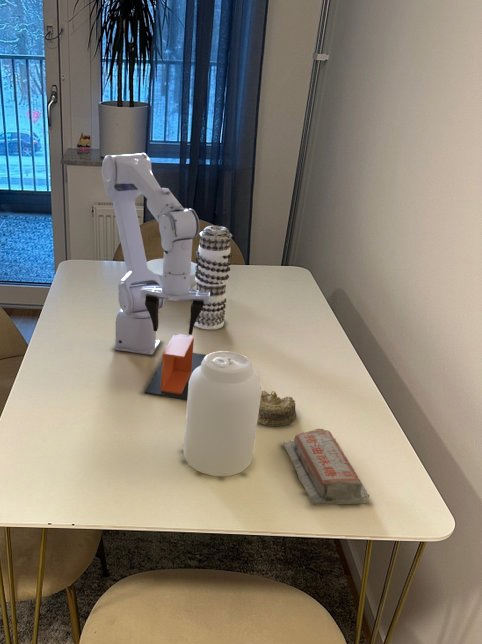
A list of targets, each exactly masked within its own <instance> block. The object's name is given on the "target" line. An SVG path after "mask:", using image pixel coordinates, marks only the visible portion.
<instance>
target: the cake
mask: <svg viewBox="0 0 482 644" xmlns="http://www.w3.org/2000/svg"><path fill="white" fill-rule="evenodd" d="M297 415H298V414H297V411H296V400H294V399H293V397H292V396H290V395H288V396H284V397H282V398H281V397H280V396H278V394H277V393H276V391H274V390H273V391H271V393H269V392H268V391H266V390H262V393H261V400H260V407H259V414H258V421H257V424H260V425H262V426H268V427H282V426H286V425H289V424H291V423H292V422H294V421H295V420H296V418H297Z"/></svg>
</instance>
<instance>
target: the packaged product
mask: <svg viewBox="0 0 482 644" xmlns="http://www.w3.org/2000/svg"><path fill="white" fill-rule="evenodd" d="M283 447H284V449H285V450H286V452H287V454H288V456H289V458H290V460H291V462H292V464H293V467H294V469H295V472H296V474H297V477H298V481H299V482H300V484H302V485H303V487H304V489H305V492H306V493H307V495H308V497H309V500H310V501H311V504H312V505H313V506H315V505H347V504H348V505H350V504H351V505H353V504H368V502H369V500H370V494H369V493H368V491H367V489H366V488H365V486H364V485H363V483H362V481H361V479H360V478H359V476H358V475H357V472H355V469H354V467H353V466H352V464H351V463H350V461H349V459H348V458H347V456H346V455H345V453H344V450H343V449H342V448H341V446H340V445H339V443H338V441H337V439H336V438H335V437H334V436H333V434H332V432H331V431H330V430H327V429H324V428H315V429H313V430H309V431H303V432H300V433H297V434H296V435H295V436H294V439H293V440H289V441H287V440H286V441H285V440H284V441H283Z"/></svg>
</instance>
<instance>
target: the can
mask: <svg viewBox="0 0 482 644" xmlns="http://www.w3.org/2000/svg"><path fill="white" fill-rule="evenodd" d="M205 355H206V356H205V357H204V359H203V361H202V362H201V365H200V366H199V367H197V368H196V369H195V370H194V371H193V373H192V374H191V377H190V379H189V385H188V399H187V400H186V414H185V426H184V440H183V457H184V460H185V461H186V462H187V464H188V465H189V466H190V467H191V468H192V469H194V470H196V471H197V472H199V473H201V474H205V475H208V476H212V477H229V476H231V477H232V476H235V475H238V474H240V473H242V472H244V471H245V470H246V469H247V468H248V467H250V464H251V463H252V461H253V456H254V448H255V441H256V434H257V426H258V422H257V421H258V414H259V407H260V400H261V393H262V391H263V390H262V389H263V388H262V383H261V378H260V376H259V374H258V373H256V371H255V370H254V366H253V363H252V360H251V359H250V358H249V357H248V356H246V355H244V354H242V353H239V352H235V351H229V350H228V351H227V350H218V351H213V352H210V353H208V354H205Z"/></svg>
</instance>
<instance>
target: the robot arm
mask: <svg viewBox="0 0 482 644" xmlns="http://www.w3.org/2000/svg"><path fill="white" fill-rule="evenodd" d="M101 177H102V178H101V179H102V183H103V187H104V191H105V195H106V197H107V198H108V199H110V200H112V205H113V210H114V211H113V212H114V216H115V220H116V221H115V222H116V225H117V230H118V235H119V239H120V240H119V241H120V246H121V250H122V255H123V260H124V265H125V271H126V273H125V275H124V276H123V277H122V278H121V279H120V280H119V281H118V284H117V287H118V289H117V290H118V304H119V308H120V309H119V310H118V312H117V314H116V318H115V339H114V340H115V342H114V343H115V346H114V350H116V351H122V352H128V353H134V354H135V353H136V354H140V355H149V356H153V355H154V353H155V351H156V350H157V348H158V346H159V345H160V344H161V340H159V339H156V337H157V334H156V333H157V332H158V329H159V314H160V312H161V309H163V308H164V307H165V303H166V300H168V301H174V302H177V301H180V302H181V301H182V302H184V301H185V302H191V305H190V315H189V316H190V318H189V319H190V320H189V326H188V328H189V329H188V336H192V335H193V332H194V327H195V325H194V324H195V322H196V320H197V318H198V316H199V314H200V312H201V310H202V309H203V305H204V304H209V301H210V292H203V291H198V290H196V289H195V288H191V289H189V285H190V270H191V262H192V253H193V240H195V239H197V237H198V235H199V233H200V220H199V217H198V215H197V213H196V211H195V209H193V208H188V207H183V206H182V204H181V203H180V202H179V200H178V199H177V198H176V196H174V194H173V193H172V192H171V190H170V189H169V188H168V187H167V188H166V187H161V185H160V184H159V182H158V181H157V180H156V177H155V176H154V174H153V171H152V161H151V159H150V158H149V156H148V154H147V153H145V152H141V153H134V154H133V153H132V154H131V153H130V154H115V155H114V154H113V155H112V154H108V155H105V157H104V158H103V160H102V165H101ZM141 195H143V196H144V198H146V199H147V200H146V207H147V209H148V211H149V212H150V214H151V215H152V216H153V218H154V219H155V221H156V222H157V223H158V228H159V229H158V230H159V234H160V239H161V242H160V245H161V248H162V249H163V257H162V259H163V279H162V285H161V282H160V279H159V276H158V275H157V274H155V273H153V272H152V271H150V270H149V269H148V266H147V262H148V261H147V257H146V251H145V247H144V242H143V237H142V231H141V227H140V221H139V217H138V211H137V206H136V199H137V198H138V197H140V196H141Z"/></svg>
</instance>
